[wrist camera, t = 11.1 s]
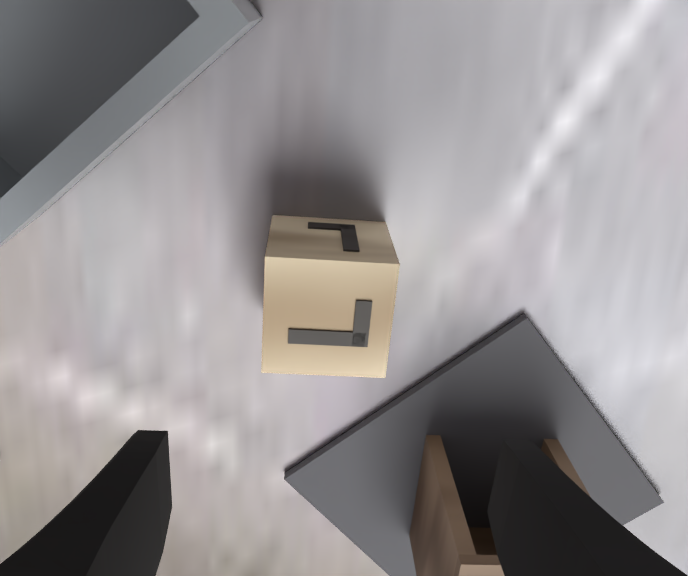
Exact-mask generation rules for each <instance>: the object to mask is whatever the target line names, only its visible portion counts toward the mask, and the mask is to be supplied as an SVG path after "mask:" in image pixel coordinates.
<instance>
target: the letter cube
mask: <svg viewBox="0 0 688 576" xmlns="http://www.w3.org/2000/svg"><path fill="white" fill-rule="evenodd" d="M399 266H400V263H399V261H398V258H397V255H396V252H395V249H394V246H393V243H392V240H391V237H390V234H389V231H388V228H387V225H386V222H379V221H363V220H346V219H330V218H314V217H298V216H281V215H272V220H271V226H270V231H269V237H268V242H267V248H266V253H265V268H264V302H263V335H262V368H261V373H282V374H305V375H329V376H352V377H376V378H385V376H386V368H387V360H388V353H389V345H390V337H391V329H392V321H393V313H394V306H395V298H396V290H397V282H398V274H399Z"/></svg>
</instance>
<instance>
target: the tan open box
mask: <svg viewBox="0 0 688 576" xmlns="http://www.w3.org/2000/svg"><path fill="white" fill-rule="evenodd" d="M541 451H543V452H544V453H545V454H546V455H547V456H548V457H549V458H550V459H551V460H552V461H553V462H554V463H555V464H556V465H557V466H558V467H559V468H560V469H561V470H562V471H563V472H564V473H565V474H566V475H567V476H568V477H569V478H570V479H572V480H573V481H574V482H575V483H576V484H577V485H578V486H579V487H580V488H581V489H582V490H583V491H584V492H585V493H586V494H587V495H589V493H588V491H587V490H586V488H585V486H584V484H583V482H582V481H581V479H580V477H579V475H578V474H577V472H576V470H575V468H574V467H573V465H572V463H571V461H570V460H569V458H568V456H567V454H566V453H565V451H564V449H563V447H562V446H561V444H560V442H559V440H558V439H544V441H543V444H542V448H541ZM589 496H590V495H589ZM409 538H410V543H411V548H412V554H413V559H414V564H415V570H416V575H417V576H504V573H503V570H502V567H501V564H500V561H499V559H498V556H497V552H496V548H495V543H494V539H493V535H492V530H491V528H478V527H468V525H467V522H466V518H465V515H464V512H463V508H462V505H461V502H460V498H459V495H458V492H457V489H456V485H455V482H454V479H453V475H452V472H451V469H450V465H449V462H448V459H447V456H446V452H445V449H444V446H443V442H442V439H441V436H440V435H426V438H425V444H424V450H423V456H422V462H421V468H420V474H419V480H418V486H417V492H416V498H415V504H414V510H413V516H412V522H411V528H410V534H409Z"/></svg>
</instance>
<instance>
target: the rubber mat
mask: <svg viewBox="0 0 688 576" xmlns="http://www.w3.org/2000/svg"><path fill="white" fill-rule="evenodd" d="M426 435H440V436H441V439H442V442H443V446H444V449H445V452H446V456H447V459H448V462H449V465H450V469H451V472H452V475H453V479H454V482H455V485H456V489H457V492H458V495H459V498H460V502H461V505H462V508H463V512H464V515H465V518H466V522H467V525H468V527H478V528H491V526H490V521H489V517H488V512H487V510H488V505H489V501H490V496H491V491H492V487H493V482H494V478H495V473H496V468H497V464H498V459H499V455H500V450H501V445H502V441H503V439H509V440H531V441H532V442H533V443H534V444H535V445H536V446H537V447H538V448H539V449H540V450H541V448H542V444H543V441H544V439H558V440H559V442H560V444H561V446H562V447H563V449H564V451H565V453H566V454H567V456H568V458H569V460H570V461H571V463H572V465H573V467H574V468H575V470H576V472H577V474H578V475H579V477H580V479H581V481H582V482H583V484H584V486H585V488H586V490H587V491H588V493H589V495H590V497H591V498H592V499H593V500H594V501H595V502H596V503H597V504H598V505H599V506H601V507H602V508H603V509H604V510H605V511H606V512H607V513H608V514H610V515H611V516H612V517H613V518H614V519H615V520H616V521H618V522H619V523H620V524H621V525H624V524H626V523H628V522H630V521H631V520H633V519H635V518H637V517H639V516H640V515H642V514H644V513H646V512H648V511H649V510H651V509H653V508H655V507H657V506H658V505H660V504H662V503H664V502H663V500H662V499H661V497H660V496H659V495H658V493H657V492H656V491H655V489H654V488H653V486H652V485H651V484H650V482H649V481H648V480H647V478H646V477H645V476H644V474H643V473H642V472H641V470H640V469H639V468H638V466H637V465H636V464H635V462H634V461H633V460H632V458H631V457H630V456H629V454H628V453H627V451H626V450H625V449H624V447H623V446H622V445H621V443H620V442H619V441H618V439H617V438H616V437H615V435H614V434H613V433H612V431H611V430H610V429H609V427H608V426H607V425H606V423H605V422H604V420H603V419H602V418H601V416H600V415H599V414H598V412H597V411H596V410H595V408H594V407H593V406H592V404H591V403H590V402H589V400H588V399H587V398H586V396H585V395H584V394H583V392H582V391H581V389H580V388H579V387H578V385H577V384H576V383H575V381H574V380H573V379H572V377H571V376H570V375H569V373H568V372H567V371H566V369H565V368H564V367H563V365H562V364H561V363H560V361H559V360H558V358H557V357H556V356H555V354H554V353H553V352H552V350H551V349H550V348H549V346H548V345H547V344H546V342H545V341H544V340H543V338H542V337H541V336H540V334H539V333H538V332H537V330H536V329H535V328H534V326H533V325H532V323H531V322H530V321H529V319H528V318H527V317H526V315H525V314H522V315H521V316H519V317H518V318H516V319H515V320H513V321H512V322H510V323H509V324H507V325H506V326H504V327H503V328H501V329H500V330H498V331H497V332H495V333H494V334H492V335H491V336H489V337H488V338H486V339H485V340H483V341H482V342H480V343H479V344H477V345H476V346H474V347H473V348H471V349H470V350H468V351H467V352H465V353H464V354H462V355H461V356H459V357H458V358H456V359H455V360H453V361H452V362H450V363H449V364H447V365H446V366H444V367H443V368H441V369H440V370H438V371H437V372H435V373H434V374H432V375H431V376H429V377H428V378H426V379H425V380H423V381H422V382H420V383H419V384H417V385H416V386H414V387H413V388H411V389H410V390H408V391H407V392H405V393H404V394H402V395H401V396H399V397H398V398H396V399H395V400H393V401H392V402H390V403H389V404H387V405H386V406H384V407H383V408H381V409H380V410H378V411H377V412H375V413H374V414H372V415H371V416H369V417H368V418H366V419H365V420H363V421H362V422H360V423H359V424H357V425H356V426H354V427H353V428H351V429H350V430H348V431H347V432H345V433H344V434H342V435H341V436H339V437H338V438H336V439H335V440H333V441H332V442H330V443H329V444H327V445H326V446H324V447H323V448H321V449H320V450H318V451H317V452H315V453H314V454H312V455H311V456H309V457H308V458H306V459H305V460H303V461H302V462H300V463H299V464H297V465H296V466H294V467H293V468H291V469H290V470H288V471H287V472H285V476H284V480H285V481H287V482H288V483H289V484H290V485H291V486H292V487H293V488H294V489H295V490H296V491H298V492H299V493H300V494H301V495H302V496H303V497H304V498H305V499H306V500H307V501H308V502H310V503H311V504H312V505H313V506H314V507H315V508H316V509H317V510H318V511H319V512H320V513H322V514H323V515H324V516H325V517H326V518H327V519H328V520H329V521H330V522H331V523H333V524H334V525H335V526H336V527H337V528H338V529H339V530H340V531H341V532H342V533H343V534H345V535H346V536H347V537H348V538H349V539H350V540H351V541H352V542H353V543H354V544H355V545H357V546H358V547H359V548H360V549H361V550H362V551H363V552H364V553H365V554H366V555H368V556H369V557H370V558H371V559H372V560H373V561H374V562H375V563H376V564H377V565H378V566H380V567H381V568H382V569H383V570H384V571H385V572H386V573H387V574H388V575H389V576H417V575H416V570H415V564H414V559H413V554H412V548H411V543H410V538H409V534H410V528H411V522H412V516H413V510H414V504H415V498H416V492H417V486H418V480H419V474H420V468H421V462H422V456H423V450H424V444H425V438H426Z"/></svg>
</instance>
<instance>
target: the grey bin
mask: <svg viewBox="0 0 688 576" xmlns="http://www.w3.org/2000/svg"><path fill="white" fill-rule="evenodd" d="M261 19H263V17H262V16H261V14H260V13H259V12H258V10H257V9H256V8H255V6H254V5H253V4H252V3H251V1H250V0H0V247H1V246H2V245H3V244H4V243H6V242H7V241H8V240H10V239H11V238H12V237H13V236H15V235H16V234H17V233H18V232H20V231H21V230H22V229H24V228H25V227H26V226H27V225H29V224H30V223H31V222H32V221H34V220H35V219H36V218H37V217H39V216H40V215H41V214H42V213H44V212H45V211H46V210H47V209H48V208H49V207H50V206H52V205H53V204H54V203H55V202H56V201H57V200H58V199H59V198H61V197H62V196H63V195H64V194H65V193H66V192H67V191H68V190H70V189H71V188H72V187H73V186H74V185H75V184H76V183H77V182H79V181H80V180H81V179H82V178H83V177H84V176H85V175H87V174H88V173H89V172H90V171H91V170H92V169H93V168H94V167H96V166H97V165H98V164H99V163H100V162H101V161H102V160H103V159H105V158H106V157H107V156H108V155H109V154H110V153H111V152H112V151H114V150H115V149H116V148H117V147H118V146H119V145H120V144H122V143H123V142H124V141H125V140H126V139H127V138H128V137H129V136H131V135H132V134H133V133H134V132H135V131H136V130H137V129H138V128H140V127H141V126H142V125H143V124H144V123H145V122H146V121H147V120H149V119H150V118H151V117H152V116H153V115H154V114H155V113H157V112H158V111H159V110H160V109H161V108H162V107H163V106H164V105H166V104H167V103H168V102H169V101H170V100H171V99H172V98H173V97H175V96H176V95H177V94H178V93H179V92H180V91H181V90H182V89H184V88H185V87H186V86H187V85H188V84H189V83H190V82H192V81H193V80H194V79H195V78H196V77H197V76H198V75H199V74H201V73H202V72H203V71H204V70H205V69H206V68H207V67H208V66H210V65H211V64H212V63H213V62H214V61H215V60H216V59H217V58H219V57H220V56H221V55H222V54H223V53H224V52H225V51H226V50H228V49H229V48H230V47H231V46H232V45H233V44H234V43H236V42H237V41H238V40H239V39H240V38H241V37H242V36H243V35H245V34H246V33H247V32H248V31H249V30H250V29H251V28H252V27H254V26H255V25H256V24H257V23H258V22H259V21H260V20H261Z"/></svg>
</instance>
